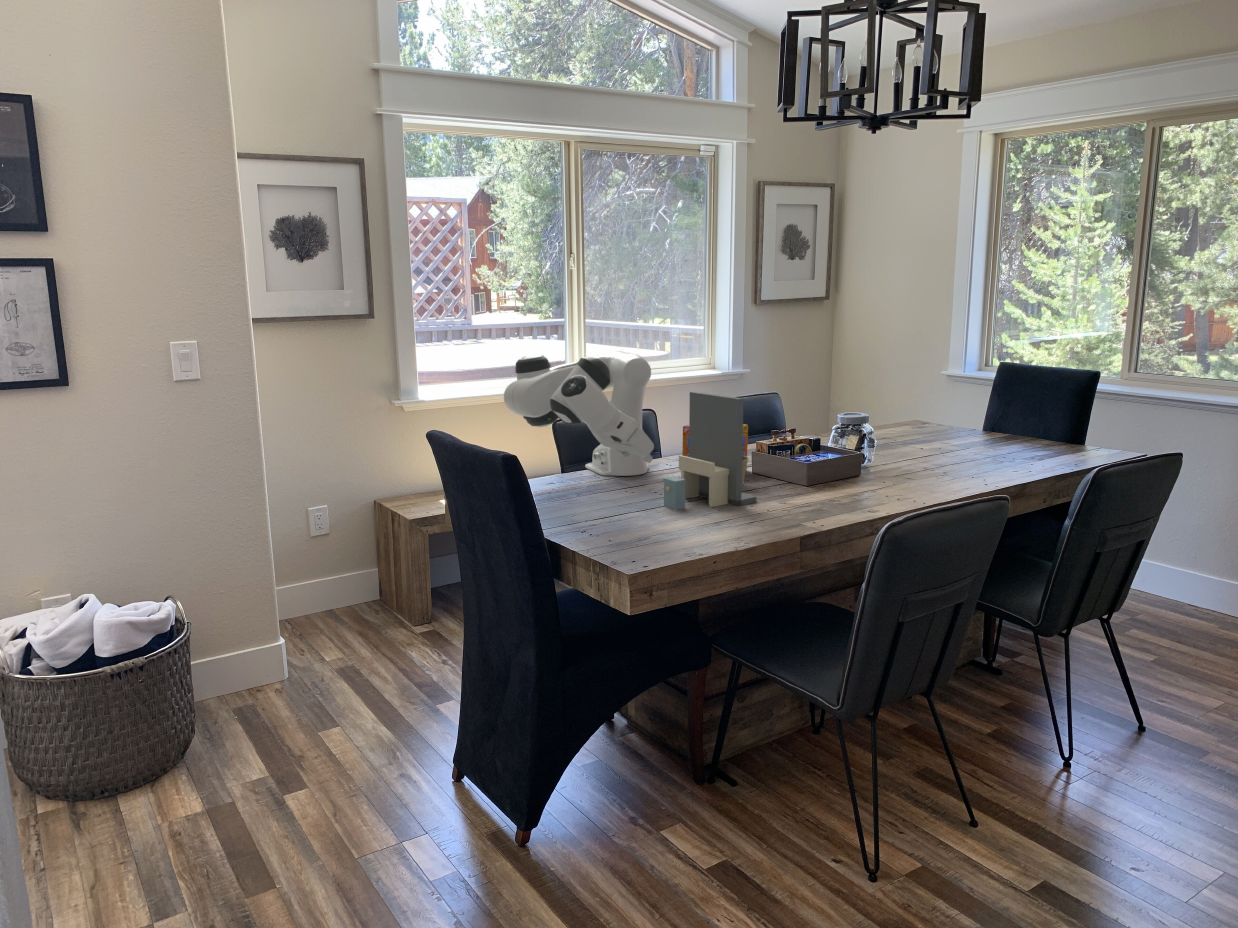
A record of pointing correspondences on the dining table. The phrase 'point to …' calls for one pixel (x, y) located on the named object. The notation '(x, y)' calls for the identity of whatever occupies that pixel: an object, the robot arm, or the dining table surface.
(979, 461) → the dining table surface
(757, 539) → the dining table surface
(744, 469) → the flower pot
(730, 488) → the wall board
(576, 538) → the dining table surface
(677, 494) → the small cabinet
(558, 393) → the robot arm
